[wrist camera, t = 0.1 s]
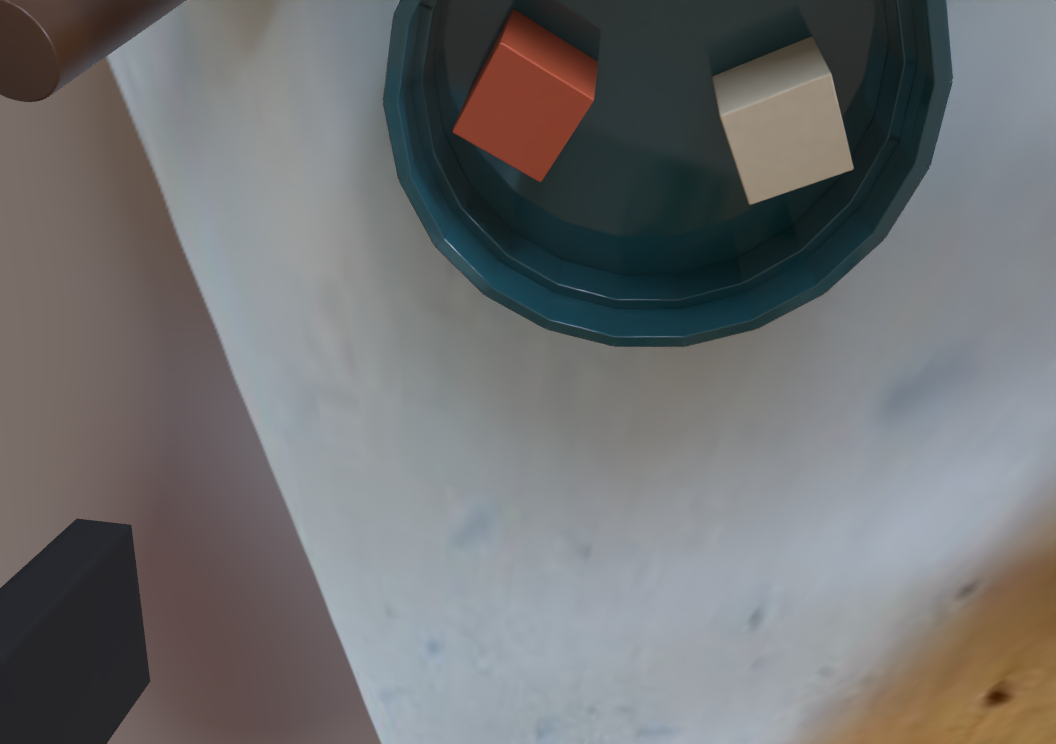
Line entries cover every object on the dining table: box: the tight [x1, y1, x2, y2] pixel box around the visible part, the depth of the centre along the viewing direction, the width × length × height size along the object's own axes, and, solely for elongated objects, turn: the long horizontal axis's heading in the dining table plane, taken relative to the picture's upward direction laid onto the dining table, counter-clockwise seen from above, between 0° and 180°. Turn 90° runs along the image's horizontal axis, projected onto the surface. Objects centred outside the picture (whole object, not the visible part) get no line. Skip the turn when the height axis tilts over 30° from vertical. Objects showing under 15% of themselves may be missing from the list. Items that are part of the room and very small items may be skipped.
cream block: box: [712, 37, 854, 205], centre depth 31 cm, size 4×4×4 cm
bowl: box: [383, 0, 953, 347], centre depth 32 cm, size 20×20×5 cm
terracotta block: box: [453, 9, 598, 182], centre depth 32 cm, size 4×4×4 cm
